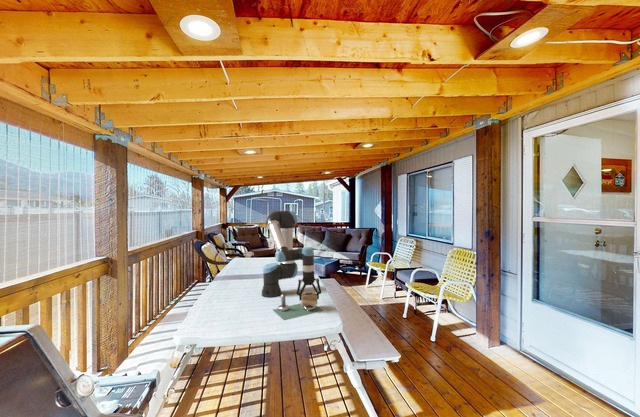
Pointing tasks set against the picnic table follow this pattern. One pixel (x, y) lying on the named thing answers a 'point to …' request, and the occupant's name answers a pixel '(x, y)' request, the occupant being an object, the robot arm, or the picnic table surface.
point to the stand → (283, 304)
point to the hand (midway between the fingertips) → (309, 304)
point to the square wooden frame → (309, 298)
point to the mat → (295, 312)
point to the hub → (309, 307)
